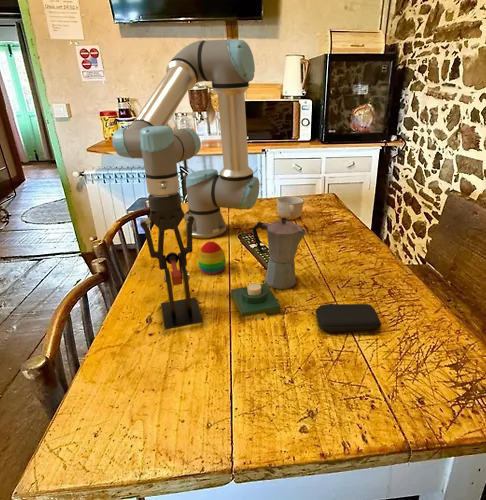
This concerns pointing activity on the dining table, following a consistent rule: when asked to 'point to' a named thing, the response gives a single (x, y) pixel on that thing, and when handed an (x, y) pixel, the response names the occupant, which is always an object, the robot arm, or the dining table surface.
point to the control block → (255, 301)
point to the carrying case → (347, 318)
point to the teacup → (289, 207)
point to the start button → (254, 289)
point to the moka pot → (280, 251)
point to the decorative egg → (211, 258)
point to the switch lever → (174, 268)
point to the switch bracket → (180, 305)
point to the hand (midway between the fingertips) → (174, 277)
